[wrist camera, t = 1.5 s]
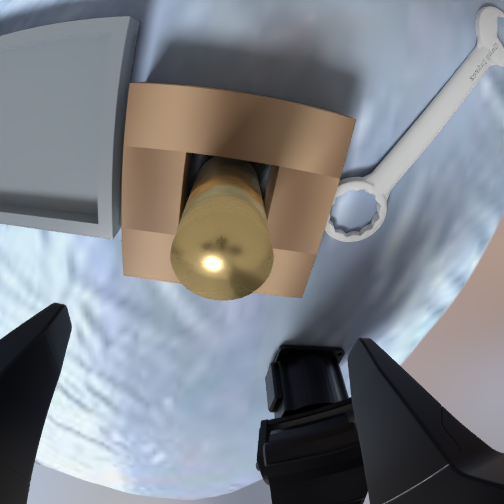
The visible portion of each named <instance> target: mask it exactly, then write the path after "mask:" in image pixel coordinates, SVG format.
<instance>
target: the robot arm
mask: <svg viewBox="0 0 504 504" xmlns="http://www.w3.org/2000/svg"><path fill="white" fill-rule="evenodd" d="M71 329H72V326H71V321H70V317H69V313H68V309H67V307H66V305H64V304H60V303H53V304H51V305H49V306H48V307H46V308H45V309H43V310H42V311H40V312H39V313H37V314H36V315H35V316H33V317H32V318H30V319H29V320H27V321H26V322H24V323H23V324H21V325H20V326H19V327H17V328H16V329H14V330H13V331H11V332H10V333H9V334H7V335H6V336H4V337H3V338H2V339H0V504H27V498H28V492H29V487H30V481H31V475H32V471H33V466H34V462H35V458H36V453H37V449H38V445H39V441H40V438H41V434H42V430H43V427H44V423H45V420H46V416H47V413H48V410H49V406H50V403H51V400H52V397H53V394H54V391H55V388H56V385H57V382H58V379H59V376H60V373H61V369H62V365H63V361H64V357H65V353H66V349H67V345H68V341H69V337H70V334H71ZM284 350H285V351H284ZM344 354H345V353H344V350H343V348H331V347H307V346H290V345H283V346H281V347H280V348H279V350H278V353H277V355H276V358H275V361H274V362H272V363H271V364H270V367H269V370H268V372H267V375H266V378H265V380H266V391H267V401H268V410H269V411H270V412H274V414H275V419H271V420H262V421H261V428H260V429H259V441H258V452H257V463H256V468H257V470H258V471H260V472H261V475H262V477H263V479H264V481H265V483H267V484H268V485H270V490H271V498H272V504H363V502H364V500H365V497H366V495H367V492H368V493H369V500H370V504H504V453H500V452H498V451H496V450H494V449H492V448H491V447H490V446H488V445H487V444H486V443H485V442H483V441H482V440H481V439H479V438H478V437H477V436H476V435H475V434H473V433H472V432H471V431H470V430H468V429H467V428H466V427H465V426H464V425H462V424H461V423H460V422H459V421H458V420H457V419H455V417H453V416H452V415H451V414H450V413H449V412H448V411H447V410H446V409H445V408H444V407H443V406H442V407H441V404H440V403H439V402H438V401H437V400H435V399H434V398H433V397H432V396H431V395H430V394H429V393H428V392H427V391H426V390H425V389H424V388H423V387H422V386H421V385H420V384H419V383H418V382H417V381H416V380H415V379H413V378H412V377H411V376H410V375H409V374H408V373H407V372H406V371H405V370H404V369H403V368H402V367H401V366H400V365H399V364H398V363H396V362H395V361H394V360H393V359H392V358H391V357H390V356H389V355H388V354H387V353H386V352H385V351H384V350H383V349H382V348H380V347H379V346H378V345H377V344H376V343H375V342H374V341H373V340H372V339H370V338H359V339H358V340H357V341H356V343H355V345H354V346H353V348H352V350H351V352H350V354H349V356H348V369H349V378H350V388H351V397H350V398H349V397H348V393H347V390H346V386H345V383H344V380H343V376H342V373H341V369H340V366H339V363H340V361H341V359H342V357H343V356H344Z"/></svg>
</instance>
